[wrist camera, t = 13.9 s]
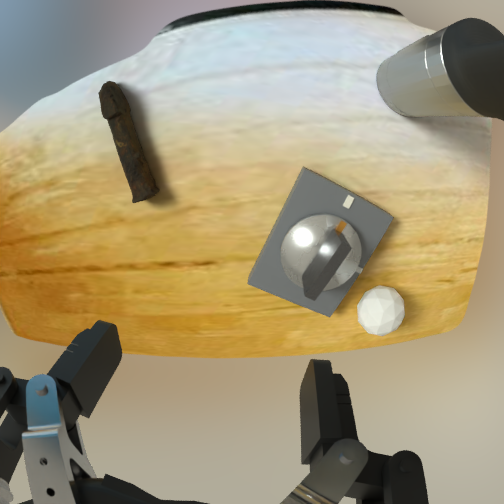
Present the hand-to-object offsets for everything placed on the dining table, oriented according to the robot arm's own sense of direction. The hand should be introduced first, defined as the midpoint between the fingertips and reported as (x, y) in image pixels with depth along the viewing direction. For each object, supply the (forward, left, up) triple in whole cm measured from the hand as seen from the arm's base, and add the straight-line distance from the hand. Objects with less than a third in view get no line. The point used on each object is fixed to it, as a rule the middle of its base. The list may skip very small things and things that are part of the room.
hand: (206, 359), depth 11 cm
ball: (+7, +24, -30) cm, 40 cm away
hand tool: (0, -20, -30) cm, 37 cm away
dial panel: (+3, +11, -30) cm, 32 cm away
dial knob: (+3, +11, -27) cm, 30 cm away
